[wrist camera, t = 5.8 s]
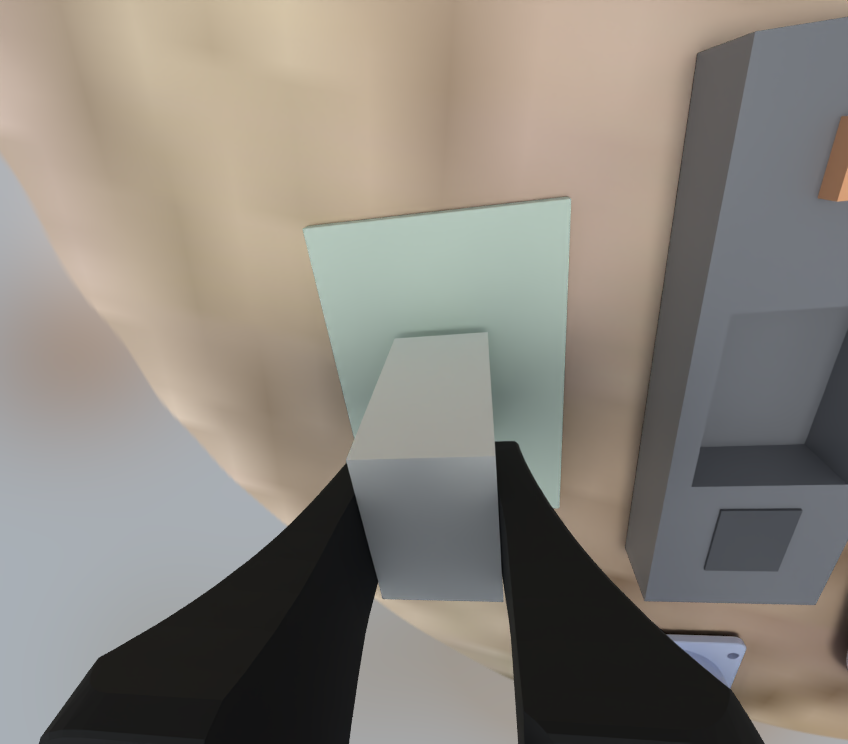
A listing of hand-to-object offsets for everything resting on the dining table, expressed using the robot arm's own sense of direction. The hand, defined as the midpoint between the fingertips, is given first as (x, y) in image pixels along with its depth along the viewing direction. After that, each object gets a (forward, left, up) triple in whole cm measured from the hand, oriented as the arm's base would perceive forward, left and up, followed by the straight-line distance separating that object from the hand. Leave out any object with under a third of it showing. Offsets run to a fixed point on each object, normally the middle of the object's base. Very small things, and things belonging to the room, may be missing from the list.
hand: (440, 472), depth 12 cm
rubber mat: (0, 0, -5) cm, 5 cm away
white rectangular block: (0, 0, -4) cm, 4 cm away
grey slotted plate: (0, -10, -5) cm, 11 cm away
